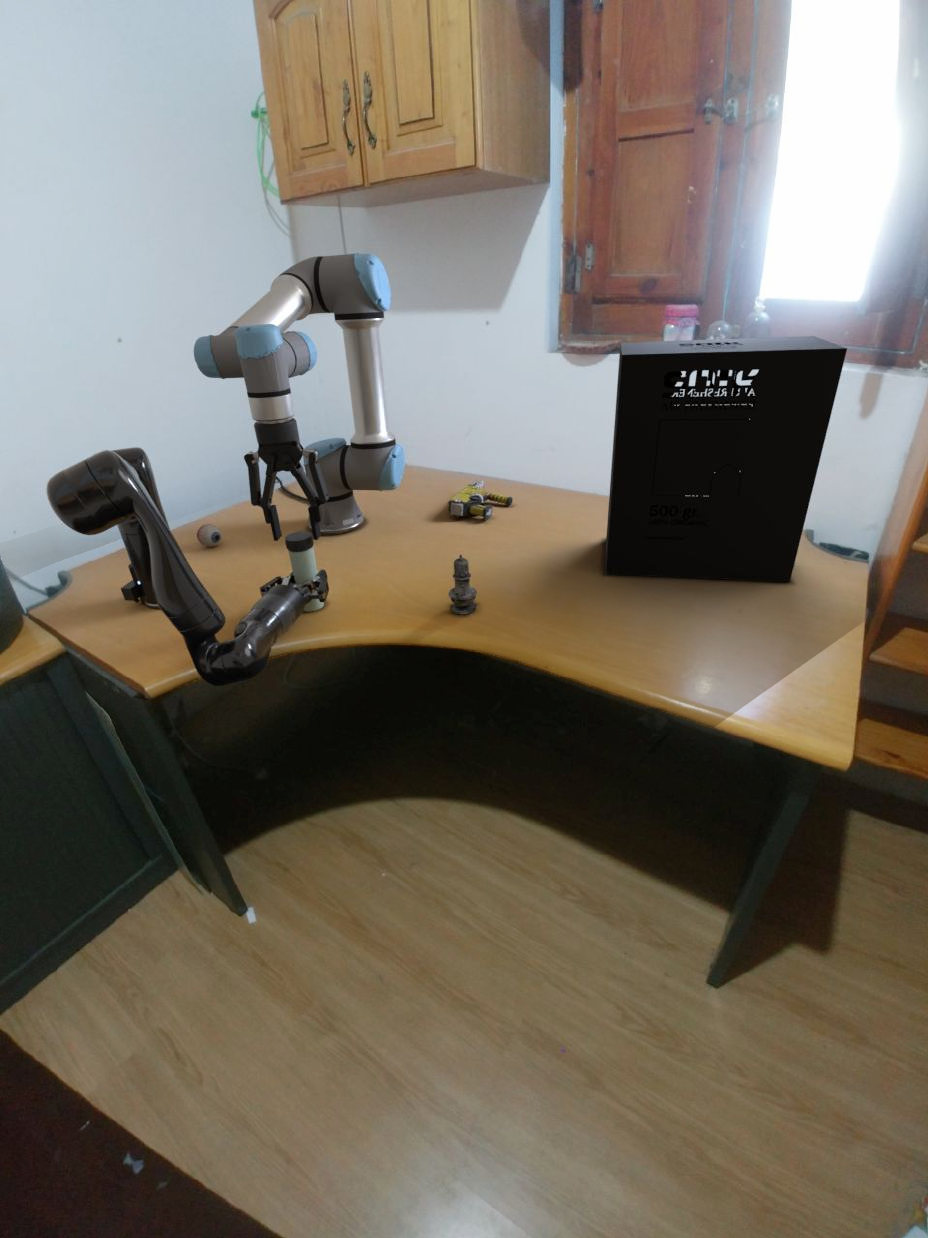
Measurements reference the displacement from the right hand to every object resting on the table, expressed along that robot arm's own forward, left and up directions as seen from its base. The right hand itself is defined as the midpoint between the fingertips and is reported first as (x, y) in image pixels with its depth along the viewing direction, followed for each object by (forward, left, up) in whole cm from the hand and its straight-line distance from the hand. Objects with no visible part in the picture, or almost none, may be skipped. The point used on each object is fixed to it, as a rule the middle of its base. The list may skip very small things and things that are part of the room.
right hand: (297, 537), depth 120 cm
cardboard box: (+38, +77, -16) cm, 87 cm away
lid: (0, 0, 0) cm, 0 cm away
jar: (0, 0, -16) cm, 16 cm away
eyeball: (-50, -6, -16) cm, 52 cm away
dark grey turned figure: (+22, +24, -16) cm, 36 cm away
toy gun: (-23, +65, -16) cm, 70 cm away
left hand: (-2, +2, -9) cm, 10 cm away
